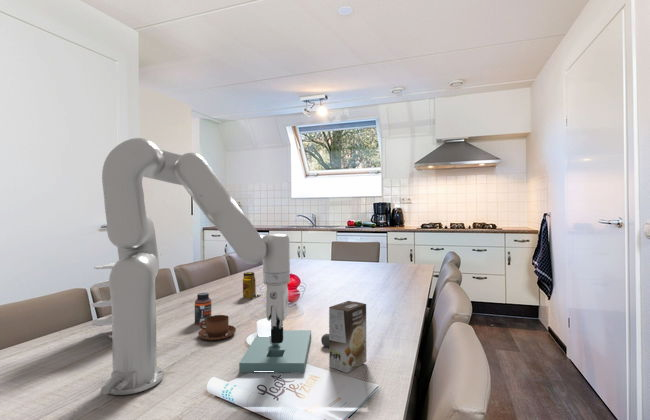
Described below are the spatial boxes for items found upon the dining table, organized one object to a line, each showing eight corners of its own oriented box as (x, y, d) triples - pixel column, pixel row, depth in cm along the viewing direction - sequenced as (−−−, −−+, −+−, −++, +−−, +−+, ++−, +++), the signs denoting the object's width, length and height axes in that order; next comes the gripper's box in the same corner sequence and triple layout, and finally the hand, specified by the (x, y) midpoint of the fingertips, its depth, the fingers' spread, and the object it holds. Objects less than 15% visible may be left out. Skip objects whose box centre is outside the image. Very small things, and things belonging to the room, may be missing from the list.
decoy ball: (333, 348, 103) (333, 336, 103) (320, 348, 103) (320, 336, 103) (333, 344, 106) (333, 331, 106) (321, 344, 107) (321, 331, 107)
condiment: (239, 298, 163) (238, 273, 163) (248, 294, 171) (248, 270, 171) (252, 299, 161) (252, 274, 161) (261, 295, 169) (261, 271, 169)
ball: (269, 341, 97) (276, 331, 99) (265, 340, 100) (272, 331, 101) (278, 348, 97) (285, 338, 99) (273, 348, 100) (280, 338, 102)
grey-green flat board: (304, 372, 88) (304, 363, 88) (239, 372, 88) (239, 363, 88) (311, 337, 112) (311, 330, 112) (259, 337, 112) (259, 330, 112)
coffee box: (348, 374, 87) (347, 311, 87) (328, 367, 91) (327, 307, 91) (367, 361, 94) (366, 303, 94) (348, 355, 98) (347, 299, 98)
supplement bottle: (206, 326, 124) (205, 295, 124) (191, 326, 125) (190, 295, 125) (214, 321, 129) (214, 291, 129) (200, 320, 131) (200, 291, 131)
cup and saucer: (195, 345, 107) (195, 325, 107) (201, 332, 119) (200, 314, 119) (235, 341, 110) (234, 322, 110) (236, 328, 122) (236, 311, 122)
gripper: (285, 283, 89) (286, 353, 89) (292, 272, 104) (293, 332, 104) (257, 283, 89) (258, 353, 89) (268, 272, 104) (269, 332, 104)
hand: (277, 341), depth 97 cm, fingers closed
